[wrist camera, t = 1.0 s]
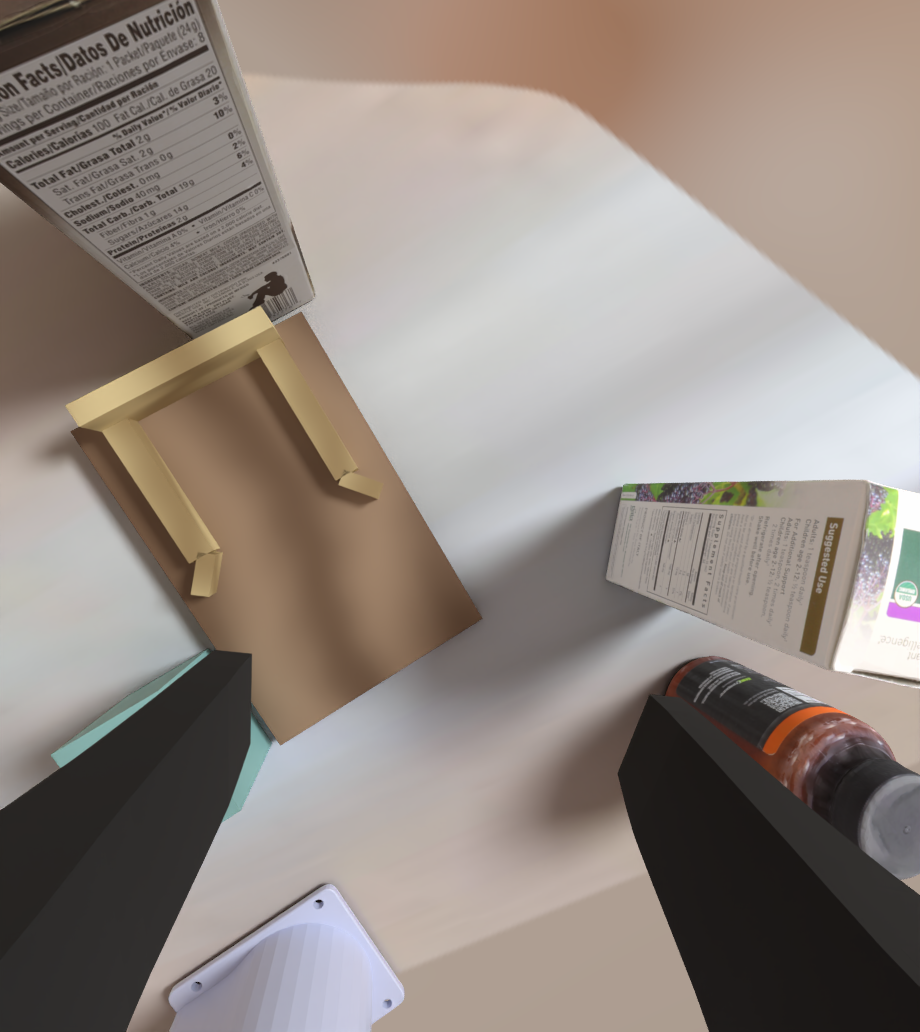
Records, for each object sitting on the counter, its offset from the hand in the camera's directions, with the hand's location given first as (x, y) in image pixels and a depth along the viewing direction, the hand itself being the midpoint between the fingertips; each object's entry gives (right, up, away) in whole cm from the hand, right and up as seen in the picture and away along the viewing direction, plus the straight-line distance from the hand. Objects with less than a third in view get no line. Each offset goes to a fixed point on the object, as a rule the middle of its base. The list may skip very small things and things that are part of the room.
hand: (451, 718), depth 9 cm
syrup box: (+12, +2, +19) cm, 23 cm away
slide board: (-8, +3, +16) cm, 18 cm away
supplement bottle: (+15, -8, +20) cm, 26 cm away
